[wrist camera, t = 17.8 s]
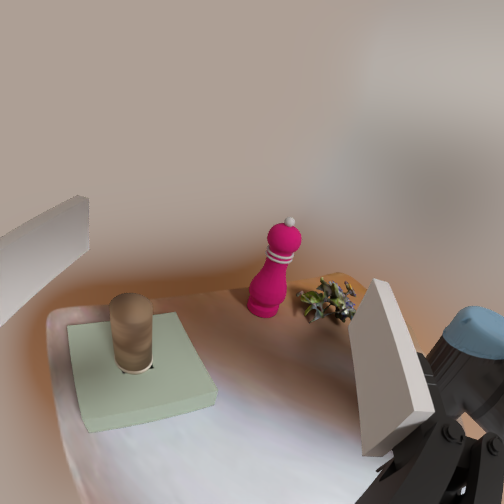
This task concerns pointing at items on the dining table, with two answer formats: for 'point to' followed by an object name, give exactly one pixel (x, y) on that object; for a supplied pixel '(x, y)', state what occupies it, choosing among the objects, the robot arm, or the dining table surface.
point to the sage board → (137, 377)
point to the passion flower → (330, 300)
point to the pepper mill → (274, 270)
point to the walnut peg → (132, 332)
